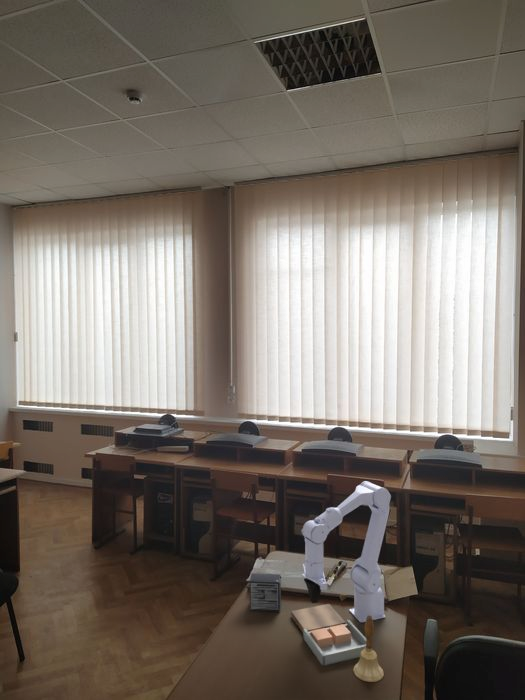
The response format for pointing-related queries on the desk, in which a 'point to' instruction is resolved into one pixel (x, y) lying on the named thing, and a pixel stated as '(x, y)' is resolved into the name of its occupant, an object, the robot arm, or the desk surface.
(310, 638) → the tray
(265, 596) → the small box
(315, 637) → the tile far
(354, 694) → the desk surface
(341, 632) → the tile near
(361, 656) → the hand bell
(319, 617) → the plate
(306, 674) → the desk surface
